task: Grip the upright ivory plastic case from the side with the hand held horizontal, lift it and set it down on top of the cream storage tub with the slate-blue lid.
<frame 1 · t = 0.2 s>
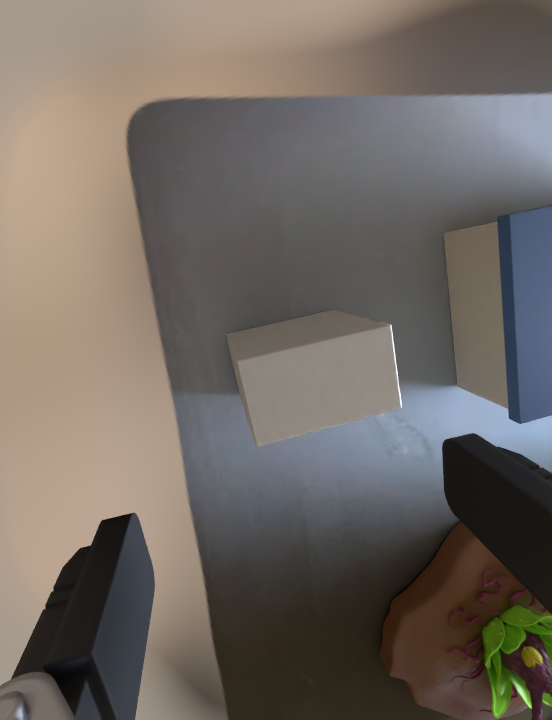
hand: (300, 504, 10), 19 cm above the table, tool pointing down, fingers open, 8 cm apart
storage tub: (530, 294, 31), on the table
white case: (287, 352, 29), on the table
plant: (486, 610, 38), on the table
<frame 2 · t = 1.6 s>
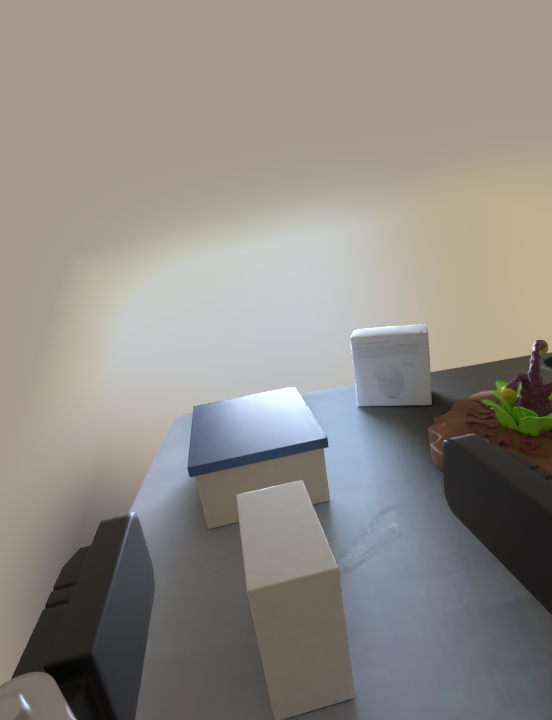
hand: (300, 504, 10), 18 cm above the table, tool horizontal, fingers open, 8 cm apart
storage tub: (260, 476, 45), on the table
white case: (299, 642, 25), on the table
cosmetics box: (393, 398, 60), on the table
plant: (534, 447, 42), on the table
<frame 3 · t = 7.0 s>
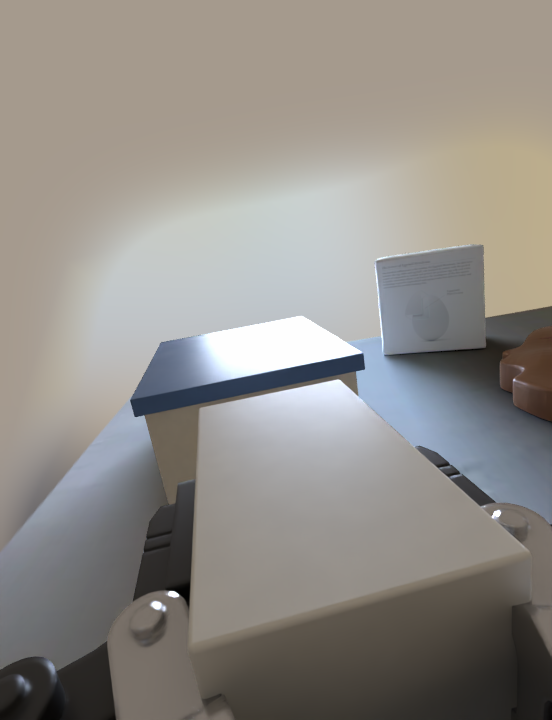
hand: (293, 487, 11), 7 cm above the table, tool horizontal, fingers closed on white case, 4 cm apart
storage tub: (256, 434, 30), on the table
cosmetics box: (430, 346, 45), on the table
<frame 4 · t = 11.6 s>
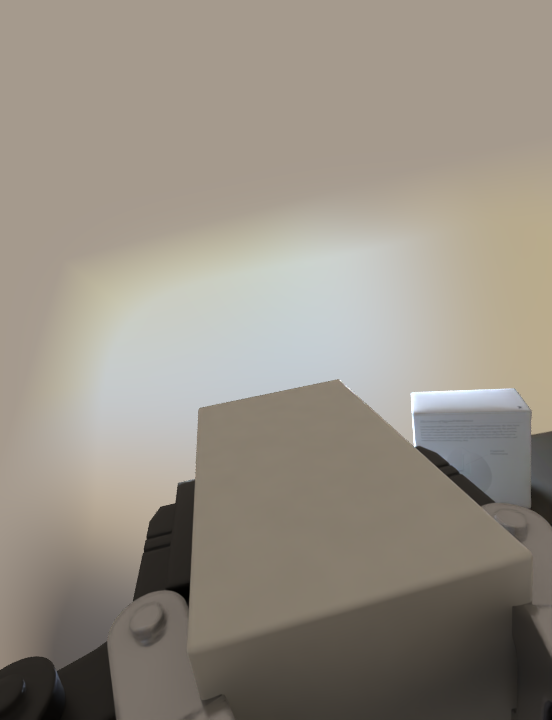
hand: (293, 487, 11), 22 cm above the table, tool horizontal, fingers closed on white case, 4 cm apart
cosmetics box: (467, 489, 43), on the table
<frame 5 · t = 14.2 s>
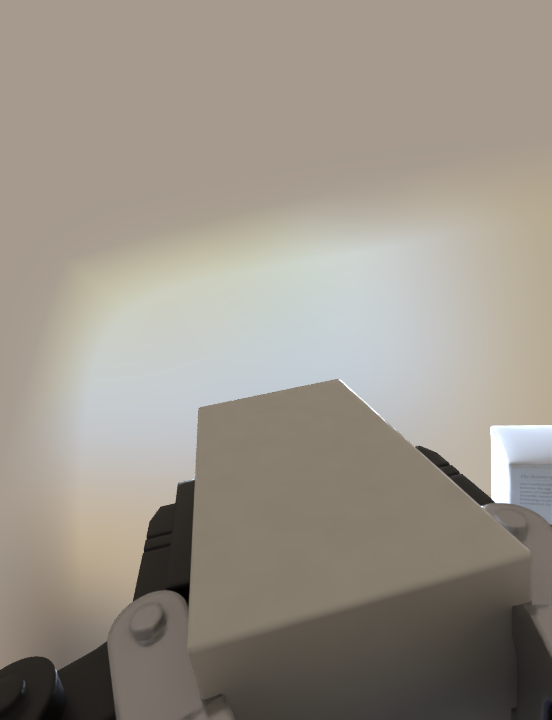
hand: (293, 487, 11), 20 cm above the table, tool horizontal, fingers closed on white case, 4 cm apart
when the fingers open (14 cm above the table, at t = 16.3 s): white case stays where it is, resting on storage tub.
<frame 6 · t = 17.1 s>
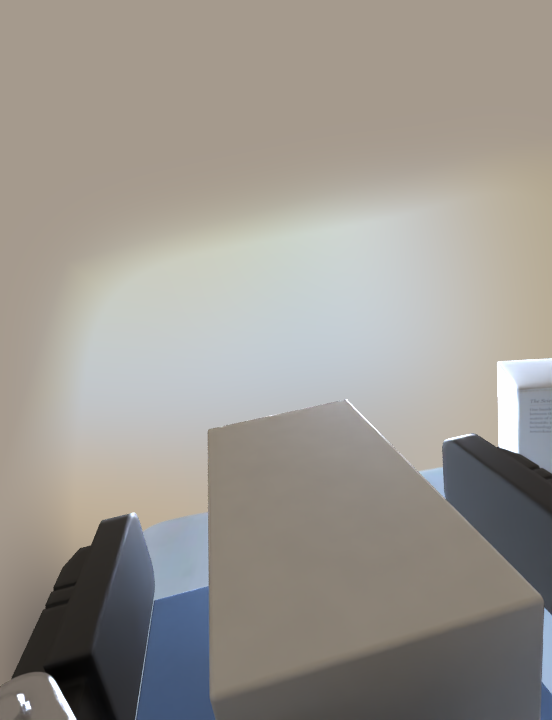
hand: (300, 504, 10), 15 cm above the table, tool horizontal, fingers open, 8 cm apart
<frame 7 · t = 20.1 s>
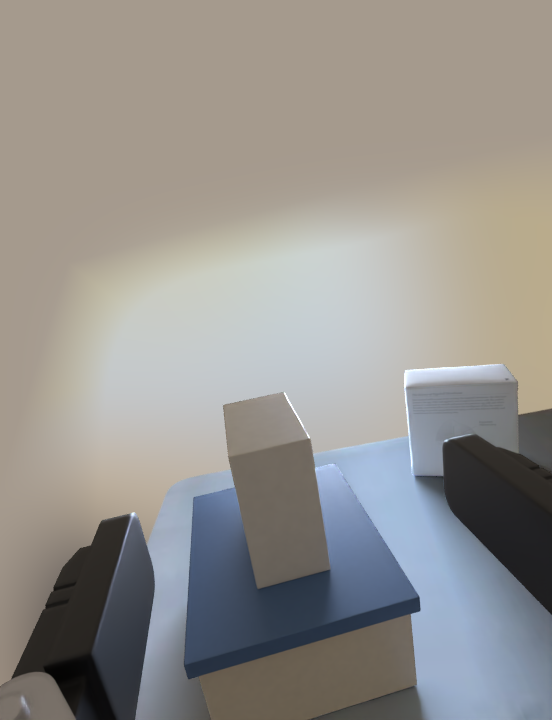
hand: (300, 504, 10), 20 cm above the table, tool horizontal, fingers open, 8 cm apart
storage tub: (295, 613, 30), on the table
white case: (282, 535, 28), point 7 cm above the table, touching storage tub
cosmetics box: (459, 463, 45), on the table
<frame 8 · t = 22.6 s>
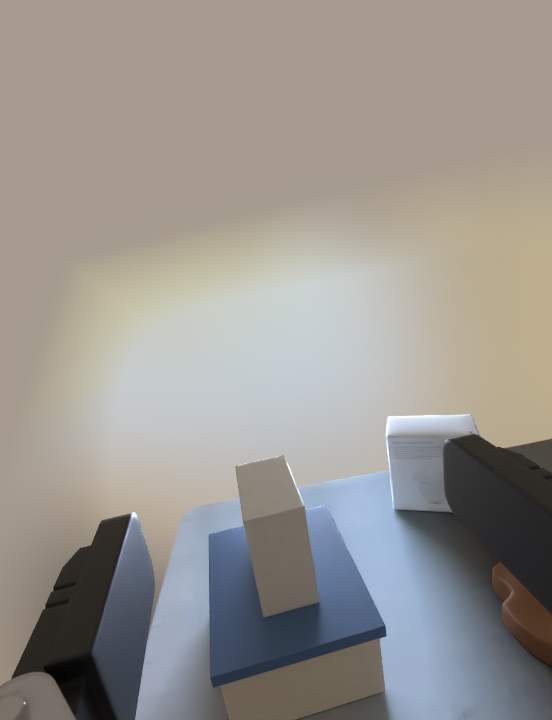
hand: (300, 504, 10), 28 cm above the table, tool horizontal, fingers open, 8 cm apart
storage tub: (292, 632, 37), on the table
white case: (282, 571, 35), point 7 cm above the table, touching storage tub
cosmetics box: (434, 497, 52), on the table
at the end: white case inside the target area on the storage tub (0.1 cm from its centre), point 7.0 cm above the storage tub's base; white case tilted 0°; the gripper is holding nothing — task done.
